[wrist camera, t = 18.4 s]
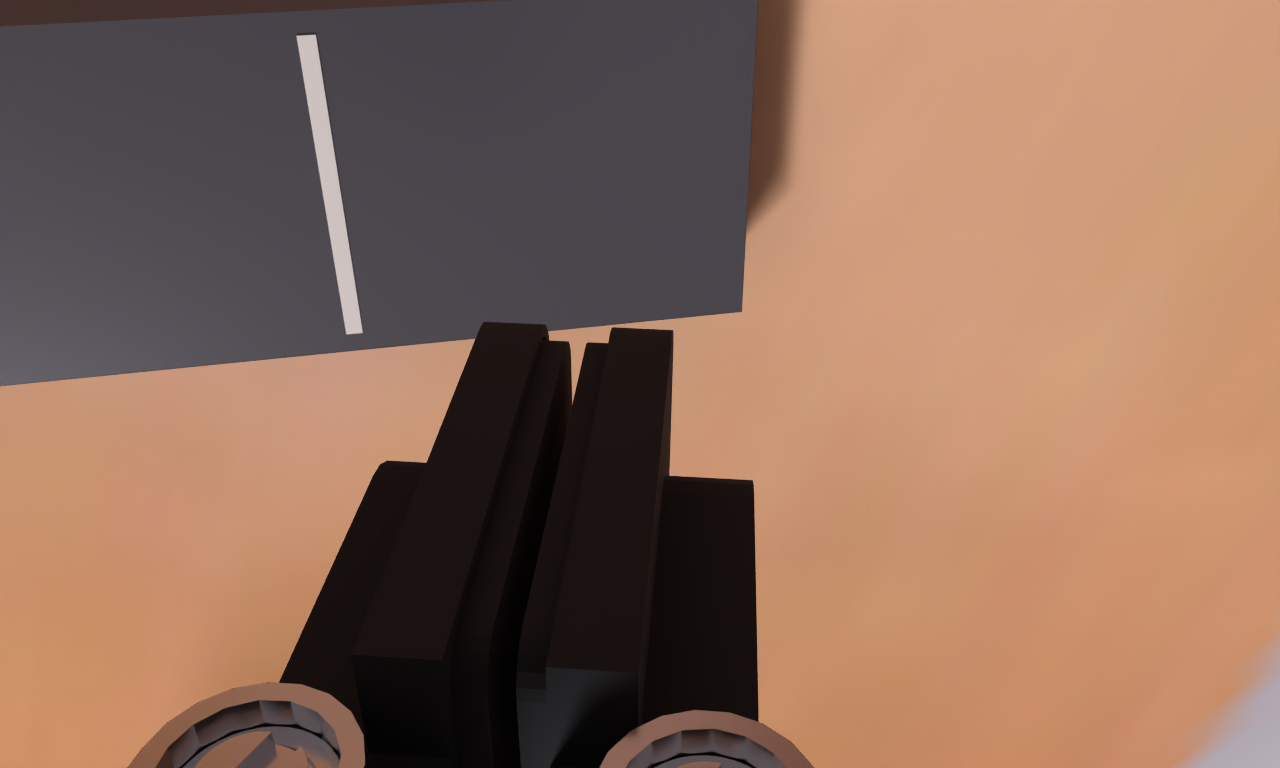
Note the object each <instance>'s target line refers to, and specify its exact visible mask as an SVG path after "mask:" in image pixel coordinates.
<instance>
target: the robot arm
mask: <svg viewBox="0 0 1280 768" xmlns="http://www.w3.org/2000/svg"><path fill="white" fill-rule="evenodd" d="M672 371H673V330H656V329H634V328H612V329H611V333H610V337H609V343H587V344H586V347H585V352H584V356H583V361H582V365H581V369H580V374H579V378H578V383H577V387H576V392H575V396H574V400H573V405H572V380H571V350H570V344H569V342H567V341H549V334H548V329H547V326H546V324H526V323H504V322H483V323H482V325H481V327H480V329H479V332H478V334H477V337H476V339H475V342H474V344H473V347H472V349H471V352H470V354H469V357H468V359H467V362H466V365H465V367H464V370H463V372H462V375H461V377H460V380H459V382H458V385H457V387H456V390H455V392H454V395H453V397H452V400H451V402H450V405H449V408H448V410H447V413H446V415H445V418H444V420H443V423H442V425H441V428H440V430H439V433H438V435H437V438H436V440H435V443H434V445H433V448H432V451H431V453H430V456H429V458H428V461H427V463H420V462H401V461H386V462H384V463H382V464H380V466H379V467H378V469H377V470H376V472H375V474H374V475H373V477H372V480H371V482H370V484H369V486H368V488H367V491H366V493H365V495H364V497H363V499H362V502H361V504H360V506H359V508H358V510H357V513H356V515H355V517H354V519H353V521H352V523H351V526H350V528H349V530H348V532H347V534H346V537H345V539H344V541H343V543H342V545H341V548H340V550H339V552H338V554H337V556H336V559H335V561H334V563H333V565H332V567H331V570H330V572H329V574H328V576H327V578H326V581H325V583H324V585H323V587H322V589H321V592H320V594H319V596H318V598H317V600H316V603H315V605H314V607H313V609H312V611H311V614H310V616H309V618H308V620H307V622H306V624H305V627H304V629H303V631H302V633H301V635H300V638H299V640H298V642H297V644H296V646H295V649H294V651H293V653H292V655H291V657H290V660H289V662H288V664H287V666H286V668H285V671H284V673H283V675H282V677H281V679H280V682H279V683H273V682H266V683H261V684H255V685H249V686H243V687H238V688H232V689H230V690H227V691H225V692H222V693H220V694H217V695H215V696H212V697H210V698H207V699H205V700H202V701H200V702H197V703H196V704H194V705H193V706H191V707H190V708H188V709H187V710H185V711H184V712H182V713H181V714H179V715H178V716H176V717H175V718H173V719H172V720H170V721H169V722H167V723H166V724H165V725H164V726H163V727H162V728H161V729H160V730H159V731H158V732H157V733H156V734H155V735H154V736H153V737H152V738H151V739H150V740H149V742H148V743H147V744H146V745H145V746H144V747H143V748H142V749H141V750H140V751H139V753H138V754H137V755H136V757H135V758H134V759H133V761H132V762H131V763H130V765H129V766H128V767H127V768H814V767H813V765H812V764H811V763H810V762H809V761H808V760H807V759H806V758H805V756H804V755H803V754H802V753H801V752H800V751H799V750H798V749H797V747H796V746H795V745H794V744H793V743H792V742H791V741H789V740H788V739H786V738H785V737H783V736H782V735H780V734H779V733H777V732H775V731H774V730H772V729H771V728H769V727H768V726H766V725H764V724H763V723H760V722H758V673H757V622H756V571H755V521H754V485H753V480H736V479H717V478H699V477H680V476H669V467H670V435H671V403H672Z"/></svg>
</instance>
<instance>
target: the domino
mask: <svg viewBox="0 0 1280 768" xmlns="http://www.w3.org/2000/svg"><path fill="white" fill-rule="evenodd" d="M757 10H758V0H0V386H7V385H17V384H27V383H37V382H47V381H57V380H67V379H77V378H87V377H97V376H107V375H117V374H127V373H137V372H146V371H156V370H166V369H176V368H186V367H196V366H206V365H216V364H226V363H236V362H246V361H256V360H266V359H276V358H286V357H296V356H306V355H316V354H326V353H336V352H346V351H356V350H366V349H376V348H385V347H395V346H405V345H415V344H425V343H435V342H445V341H455V340H465V339H475V338H476V337H477V334H478V332H479V329H480V327H481V325H482V323H483V322H504V323H526V324H546V326H547V329H548V331H555V330H565V329H575V328H585V327H595V326H605V325H615V324H625V323H634V322H644V321H654V320H664V319H674V318H684V317H694V316H704V315H714V314H724V313H734V312H742V298H743V279H744V260H745V240H746V221H747V202H748V183H749V164H750V144H751V125H752V106H753V87H754V67H755V48H756V29H757Z"/></svg>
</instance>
